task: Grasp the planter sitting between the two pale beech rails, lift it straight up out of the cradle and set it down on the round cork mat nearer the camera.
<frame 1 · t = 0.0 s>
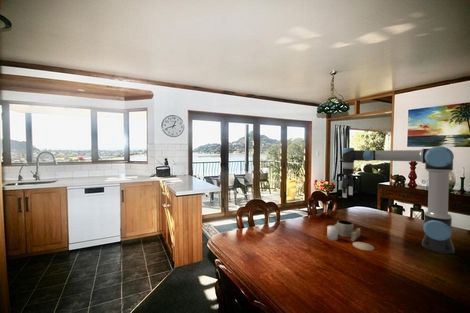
hand: (347, 196, 160), 28 cm above the table, fingers open, 13 cm apart
white cylinder: (332, 238, 150), on the table
cradle: (344, 234, 156), on the table
planter: (344, 235, 156), on the table
mat: (363, 246, 137), on the table
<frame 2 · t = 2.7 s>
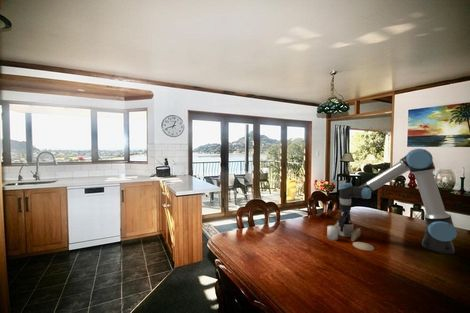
hand: (344, 233, 156), 1 cm above the table, fingers closed on planter, 11 cm apart
planter: (344, 235, 156), on the table, touching gripper
everything else where it was.
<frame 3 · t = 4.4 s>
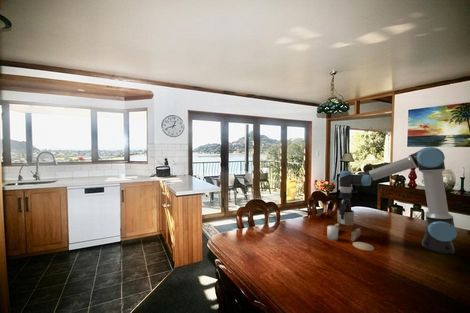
hand: (345, 221, 156), 10 cm above the table, fingers closed on planter, 11 cm apart
planter: (345, 223, 156), point 9 cm above the table, touching gripper
everything else where it was.
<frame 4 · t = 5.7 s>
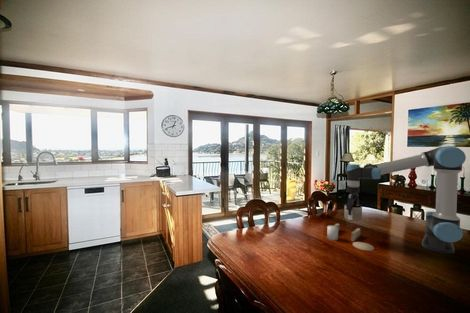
hand: (353, 217, 148), 15 cm above the table, fingers closed on planter, 11 cm apart
planter: (353, 219, 148), point 14 cm above the table, touching gripper
everything else where it was.
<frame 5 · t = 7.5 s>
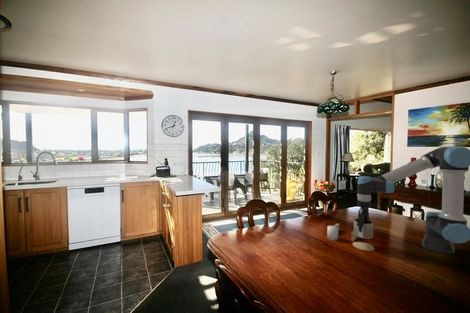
hand: (363, 234, 137), 8 cm above the table, fingers closed on planter, 11 cm apart
planter: (363, 236, 137), point 7 cm above the table, touching gripper
everything else where it was.
when the fingers open (3 cm above the table, at t = 8.9 s): planter drops 1 cm, resting on mat.
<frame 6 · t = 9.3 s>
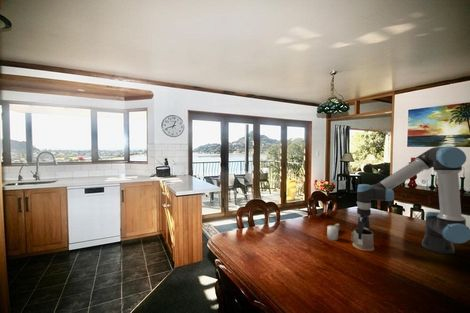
hand: (363, 240, 137), 4 cm above the table, fingers open, 13 cm apart
planter: (363, 246, 137), resting on mat
everything else where it was.
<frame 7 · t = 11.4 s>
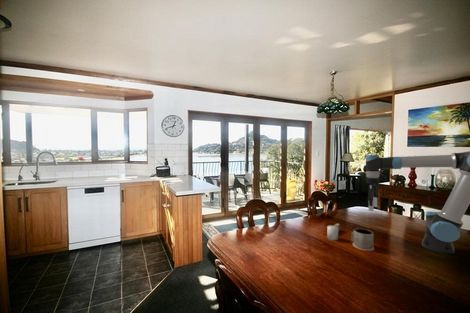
hand: (373, 208, 143), 23 cm above the table, fingers open, 13 cm apart
nothing on the table moved.
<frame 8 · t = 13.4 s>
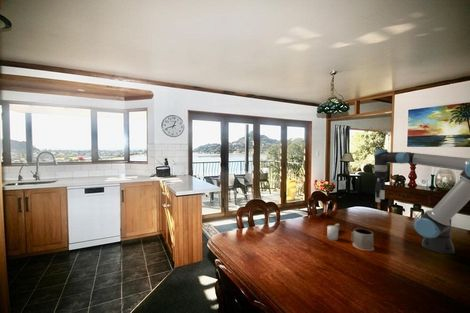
hand: (380, 200, 151), 27 cm above the table, fingers open, 13 cm apart
nothing on the table moved.
at the end: planter 0.1 cm from the mat (horizontally); planter resting on mat; planter tilted 0° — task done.
